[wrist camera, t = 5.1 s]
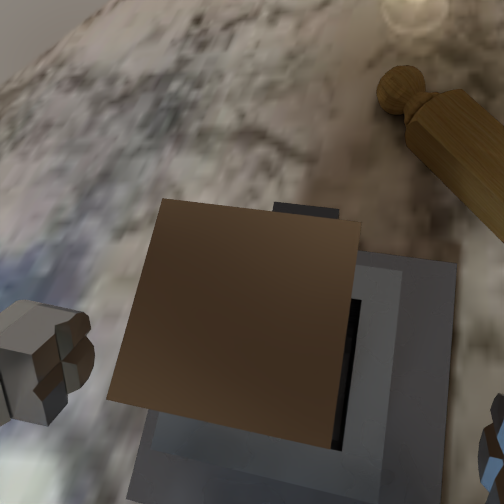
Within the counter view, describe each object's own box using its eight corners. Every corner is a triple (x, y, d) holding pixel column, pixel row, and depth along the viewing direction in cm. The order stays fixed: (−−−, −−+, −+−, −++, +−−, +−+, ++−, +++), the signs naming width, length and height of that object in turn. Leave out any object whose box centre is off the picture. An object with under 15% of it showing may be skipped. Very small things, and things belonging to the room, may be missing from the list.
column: (331, 431, 22) (333, 453, 8) (245, 412, 23) (102, 401, 8) (344, 342, 23) (364, 219, 9) (262, 328, 24) (160, 195, 10)
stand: (427, 571, 21) (499, 683, 12) (137, 494, 24) (23, 538, 15) (449, 272, 25) (514, 191, 16) (201, 238, 28) (140, 154, 19)
